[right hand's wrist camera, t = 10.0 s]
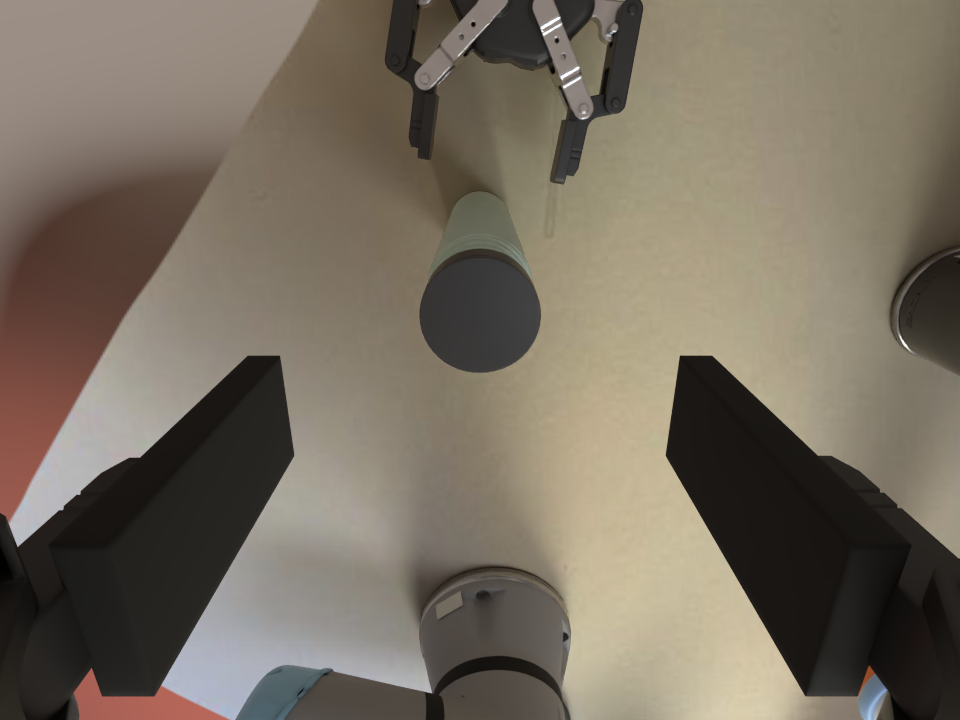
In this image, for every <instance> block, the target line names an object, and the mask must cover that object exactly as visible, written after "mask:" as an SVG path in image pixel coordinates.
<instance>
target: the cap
mask: <svg viewBox="0 0 960 720" xmlns="http://www.w3.org/2000/svg"><path fill="white" fill-rule="evenodd" d="M540 319H541V309H540V303H539V300H538V296H537V293H536V291H535V288H534V285H533V283H532V280H531V278H530V276H529V275H528V273H527V272H526V270H525V269H524V268H523V267H522V266H521V265H520V264H519V263H518V262H517V261H516V260H514V259H513V258H511V257H510V256H508V255H506V254H504V253H502V252H499V251H496V250H491V249H482V248H478V249H469V250H465V251H462V252H459V253H456V254H454V255H452V256H451V257H449V258H448V259H446V260H445V261H444V262H442V263H441V264H440V265H439V266H438V267H437V268H436V270H435V271H434V272H433V274H432V275H431V277H430V279H429V281H428V283H427V286H426V289H425V291H424V294H423V297H422V301H421V305H420V325H421V329H422V333H423V335H424V338H425V340H426V342H427V343H428V345H429V347H430V348H431V349H432V351H433V352H434V353H435V354H436V355H437V356H438V357H439V358H440V359H442V360H443V361H444V362H446V363H447V364H449V365H451V366H453V367H455V368H457V369H460V370H463V371H467V372H473V373H487V372H493V371H497V370H500V369H503V368H505V367H508V366H510V365H511V364H513V363H515V362H516V361H518V360H519V359H520V358H521V357H522V356H523V355H524V354H525V353H526V352H527V351H528V350H529V348H530V347H531V346H532V344H533V342H534V340H535V339H536V336H537V333H538V330H539V326H540Z"/></svg>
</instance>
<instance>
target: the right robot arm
mask: <svg viewBox="0 0 960 720" xmlns="http://www.w3.org/2000/svg"><path fill="white" fill-rule="evenodd" d="M293 457H294V450H293V443H292V436H291V429H290V422H289V415H288V408H287V401H286V394H285V387H284V380H283V373H282V366H281V359H280V356H247V357H246V358H245V359H244V360H243V361H242V362H241V363H240V364H239V365H238V366H237V367H235V368H234V369H233V370H232V371H231V372H230V373H229V374H228V375H227V376H226V377H225V378H224V379H223V380H222V381H221V382H220V383H219V384H218V385H216V386H215V387H214V388H213V389H212V390H211V391H210V392H209V393H208V394H207V395H206V396H205V397H204V398H203V399H202V400H201V401H200V402H198V403H197V404H196V405H195V406H194V407H193V408H192V409H191V410H190V411H189V412H188V413H187V414H186V415H185V416H184V417H183V418H182V419H181V420H179V421H178V422H177V423H176V424H175V425H174V426H173V427H172V428H171V429H170V430H169V431H168V432H167V433H166V434H165V435H164V436H163V437H161V438H160V439H159V440H158V441H157V442H156V443H155V444H154V445H153V446H152V447H151V448H150V449H149V450H148V451H147V452H146V453H145V454H144V455H142V456H141V457H140V458H128V459H126V460H124V461H123V462H121V463H119V464H117V465H115V466H113V467H112V468H110V469H108V470H106V471H104V472H102V473H101V474H100V475H98V476H97V477H96V478H95V479H94V480H93V481H92V482H91V483H89V484H88V485H87V486H86V487H85V488H84V489H83V490H82V491H81V494H80V495H76V496H75V497H74V498H73V499H71V500H70V501H69V502H68V503H67V504H66V505H65V506H64V509H63V510H59V511H58V512H57V513H56V514H55V515H53V516H52V517H51V518H50V519H49V520H48V521H47V522H46V523H45V524H43V525H42V526H41V527H40V528H39V529H38V530H37V531H36V532H34V533H33V534H32V535H31V536H30V537H29V538H28V539H27V540H25V541H24V542H23V543H22V544H21V545H20V546H19V547H17V545H16V542H15V539H14V537H13V534H12V532H11V529H10V526H9V524H8V521H7V519H6V516H4V515H2V514H1V513H0V720H79V710H78V704H77V701H76V698H75V696H74V693H73V692H74V691H75V690H76V688H77V687H78V686H79V684H80V683H81V681H82V680H83V679H84V677H85V676H86V675H87V673H88V672H89V670H90V669H91V668H92V669H93V672H94V675H95V678H96V681H97V683H98V686H99V689H100V692H101V695H102V696H155V695H156V693H157V691H158V689H159V688H160V686H161V684H162V682H163V681H164V679H165V677H166V676H167V674H168V672H169V670H170V669H171V667H172V665H173V664H174V662H175V660H176V658H177V657H178V655H179V653H180V652H181V650H182V648H183V646H184V645H185V643H186V641H187V639H188V638H189V636H190V634H191V633H192V631H193V629H194V627H195V626H196V624H197V622H198V621H199V619H200V617H201V615H202V614H203V612H204V610H205V609H206V607H207V605H208V603H209V602H210V600H211V598H212V596H213V595H214V593H215V591H216V590H217V588H218V586H219V584H220V583H221V581H222V579H223V578H224V576H225V574H226V572H227V571H228V569H229V567H230V565H231V564H232V562H233V560H234V559H235V557H236V555H237V553H238V552H239V550H240V548H241V547H242V545H243V543H244V541H245V540H246V538H247V536H248V535H249V533H250V531H251V529H252V528H253V526H254V524H255V522H256V521H257V519H258V517H259V516H260V514H261V512H262V510H263V509H264V507H265V505H266V504H267V502H268V500H269V498H270V497H271V495H272V493H273V492H274V490H275V488H276V486H277V485H278V483H279V481H280V479H281V478H282V476H283V474H284V473H285V471H286V469H287V467H288V466H289V464H290V462H291V461H292V459H293ZM666 457H667V459H668V461H669V462H670V464H671V466H672V467H673V469H674V471H675V473H676V474H677V476H678V478H679V479H680V481H681V483H682V485H683V486H684V488H685V490H686V491H687V493H688V495H689V497H690V498H691V500H692V502H693V504H694V505H695V507H696V509H697V510H698V512H699V514H700V516H701V517H702V519H703V521H704V522H705V524H706V526H707V528H708V529H709V531H710V533H711V535H712V536H713V538H714V540H715V541H716V543H717V545H718V547H719V548H720V550H721V552H722V553H723V555H724V557H725V559H726V560H727V562H728V564H729V565H730V567H731V569H732V571H733V572H734V574H735V576H736V578H737V579H738V581H739V583H740V584H741V586H742V588H743V590H744V591H745V593H746V595H747V596H748V598H749V600H750V602H751V603H752V605H753V607H754V608H755V610H756V612H757V614H758V615H759V617H760V619H761V621H762V622H763V624H764V626H765V627H766V629H767V631H768V633H769V634H770V636H771V638H772V639H773V641H774V643H775V645H776V646H777V648H778V650H779V652H780V653H781V655H782V657H783V658H784V660H785V662H786V664H787V665H788V667H789V669H790V670H791V672H792V674H793V676H794V677H795V679H796V681H797V682H798V684H799V686H800V688H801V689H802V691H803V693H804V695H805V696H858V695H859V692H860V689H861V686H862V683H863V681H864V678H865V675H866V672H867V669H868V667H869V666H870V667H871V669H872V670H873V671H874V673H875V674H876V676H877V677H878V678H879V680H880V681H881V682H882V684H883V685H884V686H885V688H886V689H887V693H886V696H885V698H884V701H883V704H882V706H881V709H880V711H879V714H878V717H877V719H876V720H960V559H958V558H957V557H956V556H955V555H954V554H953V553H952V552H950V551H949V550H948V549H947V548H946V547H945V546H944V545H943V544H941V543H940V542H939V541H938V540H937V539H936V538H935V537H933V536H932V535H931V534H930V533H929V532H928V531H927V530H926V529H924V528H923V527H922V526H921V525H920V524H919V523H918V522H916V521H915V520H914V519H913V518H912V517H911V516H910V515H909V514H907V513H906V512H905V511H904V510H903V509H902V508H897V504H896V503H895V502H894V501H893V500H892V499H890V498H889V497H888V496H887V495H886V494H885V493H880V489H879V488H878V487H877V486H876V485H875V484H873V483H872V482H871V481H870V480H869V479H868V478H867V477H865V476H864V475H863V474H862V473H861V472H860V471H858V470H856V469H854V468H853V467H851V466H849V465H847V464H845V463H843V462H842V461H840V460H838V459H836V458H834V457H832V456H818V455H816V454H815V453H814V452H813V451H812V450H811V449H810V448H809V447H808V446H807V445H806V444H805V443H804V442H803V441H802V440H801V439H800V438H799V437H797V436H796V435H795V434H794V433H793V432H792V431H791V430H790V429H789V428H788V427H787V426H786V425H785V424H784V423H783V422H782V421H781V420H779V419H778V418H777V417H776V416H775V415H774V414H773V413H772V412H771V411H770V410H769V409H768V408H767V407H766V406H765V405H764V404H763V403H762V402H760V401H759V400H758V399H757V398H756V397H755V396H754V395H753V394H752V393H751V392H750V391H749V390H748V389H747V388H746V387H745V386H744V385H742V384H741V383H740V382H739V381H738V380H737V379H736V378H735V377H734V376H733V375H732V374H731V373H730V372H729V371H728V370H727V369H726V368H725V367H723V366H722V365H721V364H720V363H719V362H718V361H717V360H716V359H715V358H714V357H713V356H680V359H679V366H678V373H677V380H676V387H675V394H674V401H673V408H672V415H671V422H670V429H669V436H668V443H667V450H666ZM570 641H571V630H570V623H569V618H568V613H567V609H566V607H565V604H564V602H563V601H562V599H561V598H560V596H559V595H558V594H557V592H556V591H555V590H554V589H553V588H552V587H551V586H549V585H548V584H547V583H545V582H544V581H542V580H541V579H539V578H537V577H535V576H533V575H531V574H528V573H525V572H522V571H518V570H513V569H507V568H484V569H478V570H473V571H469V572H466V573H463V574H460V575H458V576H456V577H454V578H452V579H450V580H448V581H447V582H445V583H444V584H443V585H441V586H440V587H439V588H438V589H437V590H436V591H435V592H434V593H433V594H432V595H431V597H430V598H429V599H428V601H427V603H426V605H425V607H424V609H423V613H422V617H421V624H420V647H421V652H422V655H423V658H424V661H425V664H426V669H427V673H428V678H429V682H430V686H431V690H432V693H427V692H423V691H418V690H413V689H409V688H404V687H400V686H395V685H391V684H386V683H382V682H377V681H373V680H369V679H364V678H360V677H355V676H351V675H346V674H342V673H338V672H333V670H332V669H330V668H325V669H322V670H318V669H312V668H306V667H299V666H293V665H284V666H280V667H277V668H275V669H273V670H272V671H270V672H269V673H268V674H266V675H265V676H264V677H263V679H262V680H261V681H260V682H259V683H258V684H257V686H256V687H255V688H254V690H253V691H252V693H251V694H250V696H249V697H248V699H247V701H246V702H245V704H244V706H243V707H242V709H241V711H240V713H239V714H238V716H237V718H236V720H570V716H569V712H568V710H567V708H566V706H565V704H564V703H563V701H562V694H561V690H562V685H563V680H564V675H565V670H566V665H567V660H568V654H569V650H570Z"/></svg>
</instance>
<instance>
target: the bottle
mask: <svg viewBox="0 0 960 720" xmlns="http://www.w3.org/2000/svg"><path fill="white" fill-rule="evenodd" d="M478 248H482V249H491V250H496V251H499V252H502V253H504V254H506V255H508V256H510V257H511V258H513V259H514V260H516V261H517V262H518V263H519V264H520V265H521V266H522V267H523V268H524V269H525V270H526V272H527V273H528V275H529V276H530V278H531V280H532V276H531V271H530V268H529V265H528V262H527V260H526V257H525V254H524V252H523V249H522V246H521V244H520V241H519V239H518V236H517V233H516V231H515V228H514V225H513V223H512V220H511V217H510V215H509V212H508V210H507V207H506V206H505V204H504V203H503V202H502V200H500V199H499V198H498V197H497V196H495V195H493V194H491V193H488V192H484V191H477V192H472V193H469V194H467V195H465V196H463V197H462V198H461V199H460V200H459V201H458V202H457V203H456V204H455V206H454V208H453V210H452V212H451V215H450V218H449V220H448V223H447V226H446V228H445V231H444V234H443V236H442V239H441V242H440V244H439V247H438V250H437V252H436V255H435V258H434V260H433V263H432V266H431V269H430V272H429V278H428V281H429V279H430V277H431V275H432V274H433V272H434V271H435V270H436V268H437V267H438V266H439V265H440V264H441V263H442V262H444V261H445V260H446V259H448V258H449V257H451V256H452V255H454V254H456V253H459V252H462V251H465V250H469V249H478Z"/></svg>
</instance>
